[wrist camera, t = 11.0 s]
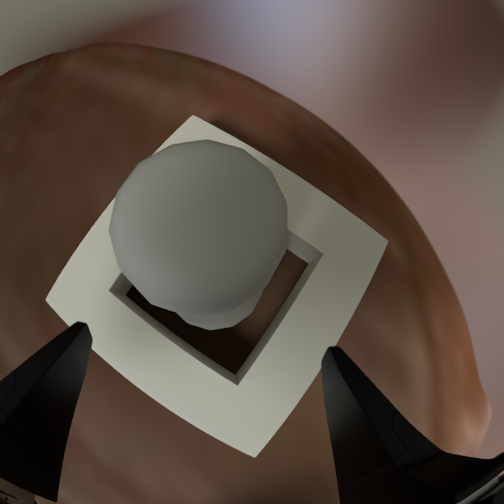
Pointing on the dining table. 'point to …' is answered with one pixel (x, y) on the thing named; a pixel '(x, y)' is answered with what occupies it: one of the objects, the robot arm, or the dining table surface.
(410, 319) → the dining table surface
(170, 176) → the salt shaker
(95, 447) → the dining table surface
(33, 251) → the dining table surface
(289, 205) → the grey block
